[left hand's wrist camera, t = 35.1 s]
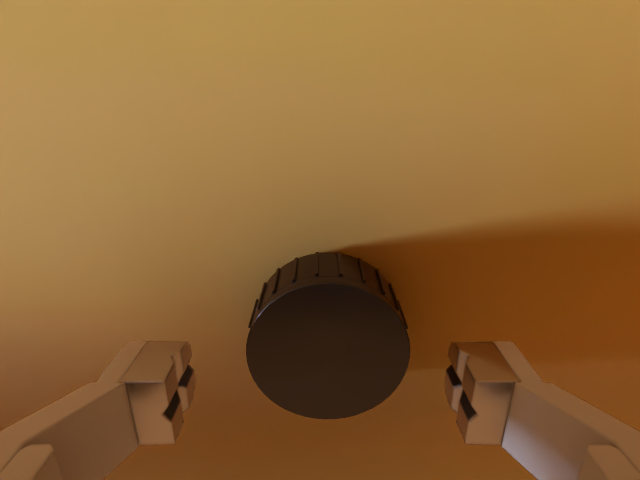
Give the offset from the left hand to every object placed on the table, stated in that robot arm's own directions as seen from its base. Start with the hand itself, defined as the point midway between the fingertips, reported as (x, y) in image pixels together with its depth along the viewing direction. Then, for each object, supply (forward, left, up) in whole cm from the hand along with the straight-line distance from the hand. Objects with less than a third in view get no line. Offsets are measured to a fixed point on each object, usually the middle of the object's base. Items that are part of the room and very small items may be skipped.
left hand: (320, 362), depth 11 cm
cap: (0, 0, 0) cm, 0 cm away
